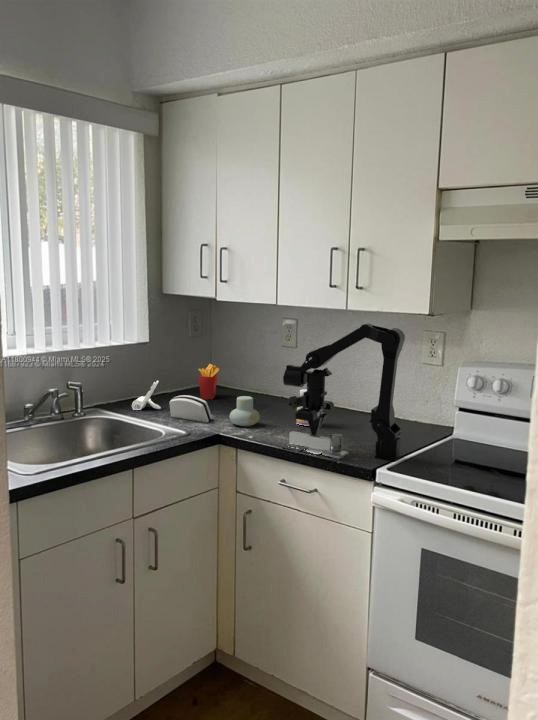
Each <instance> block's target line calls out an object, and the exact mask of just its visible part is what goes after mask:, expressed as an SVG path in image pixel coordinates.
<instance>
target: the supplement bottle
mask: <svg viewBox="0 0 538 720" xmlns="http://www.w3.org/2000/svg"><path fill="white" fill-rule="evenodd" d="M306 391H307V388H305V389H300V390H299V395H300V396H303V395H304V392H306ZM300 396H299V397H300ZM301 408H303V406H301V407H297V408H296V411H297V410H299V409H301ZM305 409H308V408H305ZM297 424H299V425H304V426H309V423H308V421H307V420H300V419H296V425H297ZM299 425H298V426H299Z"/></svg>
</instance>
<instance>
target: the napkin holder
mask: <svg viewBox="0 0 538 720" xmlns="http://www.w3.org/2000/svg"><path fill="white" fill-rule="evenodd" d="M169 411H170V417H171V418H177V419H183V420H190V421H195V420H196V422H201V421H202V423H209V422H210V419H211V420H212V421H215V418H214V415H212V413H211V411H210V407H209V405H208V402H207V401H206V400H205V399H201V397H197V396H193V395H185V394H183V395H178V396H174V397H172V399H170V401H169Z"/></svg>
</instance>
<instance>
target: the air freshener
mask: <svg viewBox="0 0 538 720" xmlns="http://www.w3.org/2000/svg"><path fill="white" fill-rule="evenodd" d="M229 420H230V421H231V423H233V424H234V425H236V426H238V425H239V427H252V426H254V425H256V424H257V423H258V422H259V420H260V413H259V412H258V411H257V410H256V409H254V398H253V397H251V396H250V395H249V396H248V395H247V396H246V395H242V396H241V395H240V396H237V398H236V408H235V409H233V410H231V411H230V413H229ZM251 425H252V426H251Z"/></svg>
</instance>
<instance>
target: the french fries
mask: <svg viewBox="0 0 538 720" xmlns="http://www.w3.org/2000/svg"><path fill="white" fill-rule="evenodd" d="M197 370H198V371H199V372H200V375H199V376H198V386H199V395H200V397H199V398H200V399H202V400H208V399H211V400H210V401H212V400H213V399H215V398H216V391H217V382H218V374H217V373H219V370H220V368H219V367H216V365H213V364H212V363H209V364H208V366H207V367H206V368H203V367H202V368H198V369H197Z"/></svg>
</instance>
